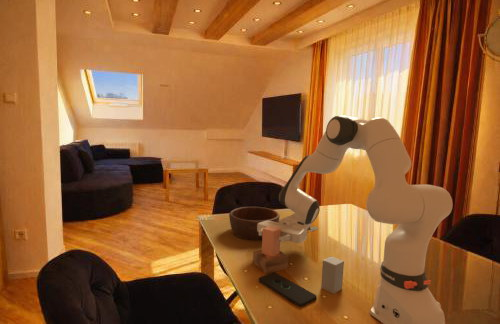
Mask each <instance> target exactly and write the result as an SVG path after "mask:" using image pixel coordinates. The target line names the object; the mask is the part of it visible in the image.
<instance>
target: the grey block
mask: <svg viewBox="0 0 500 324" xmlns="http://www.w3.org/2000/svg"><path fill="white" fill-rule="evenodd" d="M344 265H345V261H344V260H342V259H340V258H337V257H335V256H328V257H327V258H325V259H323V260H322V270H321V271H322V272H321V282H320V288H321V289H323V290H325V291H327V292H329V293H331V294H336V293H338V292H339V291H340V290H343V278H344V268H345V267H344Z"/></svg>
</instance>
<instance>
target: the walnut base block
mask: <svg viewBox="0 0 500 324" xmlns="http://www.w3.org/2000/svg"><path fill="white" fill-rule="evenodd" d="M289 258H290V257H289V256H288V255H286V254H285V253H284V252H282V251H281V250H280V253H279V254H277V255H275V256H273V257H271V256H268V255H265V254H262V249H259V250H254V251H253V252H252V263H253V264H254V265H255V266H256V267H258V269H260V270H261V271H262V272H263V273H264V274H270V273H273V272H275V273H276V272H278V271H283V270H287V269H288V268H289Z"/></svg>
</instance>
